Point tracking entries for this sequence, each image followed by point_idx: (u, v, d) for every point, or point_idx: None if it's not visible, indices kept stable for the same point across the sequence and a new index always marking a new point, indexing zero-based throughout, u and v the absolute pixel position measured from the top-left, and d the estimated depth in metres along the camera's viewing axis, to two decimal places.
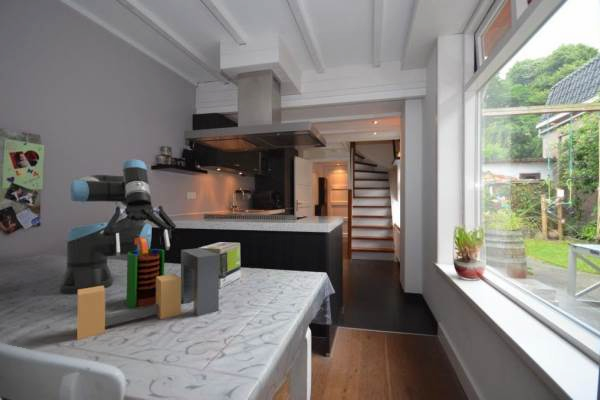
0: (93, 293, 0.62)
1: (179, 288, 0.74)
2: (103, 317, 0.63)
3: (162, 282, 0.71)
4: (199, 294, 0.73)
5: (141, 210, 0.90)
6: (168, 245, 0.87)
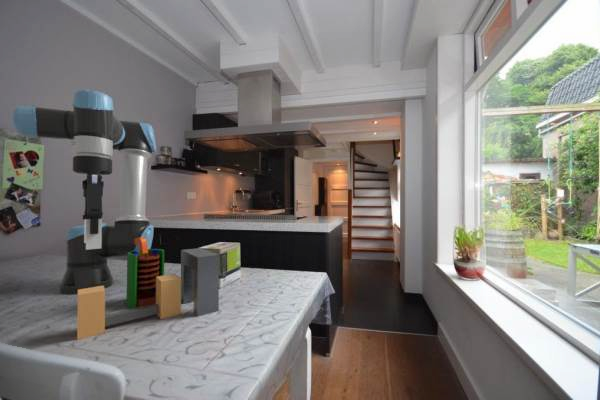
0: (93, 293, 0.62)
1: (179, 288, 0.74)
2: (103, 317, 0.63)
3: (162, 282, 0.71)
4: (199, 294, 0.73)
5: None
6: (85, 247, 0.58)
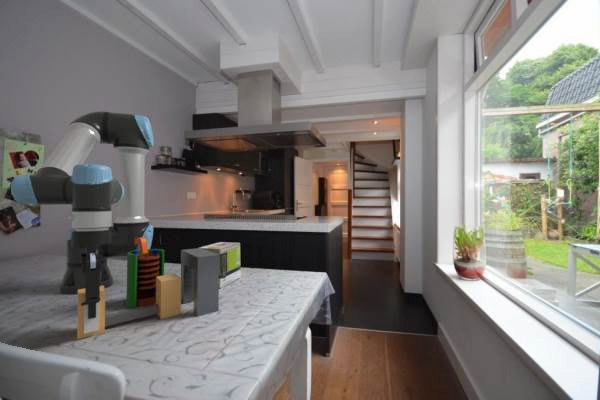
0: None
1: (179, 288, 0.74)
2: (103, 317, 0.63)
3: (162, 282, 0.71)
4: (199, 294, 0.73)
5: (85, 255, 0.63)
6: None
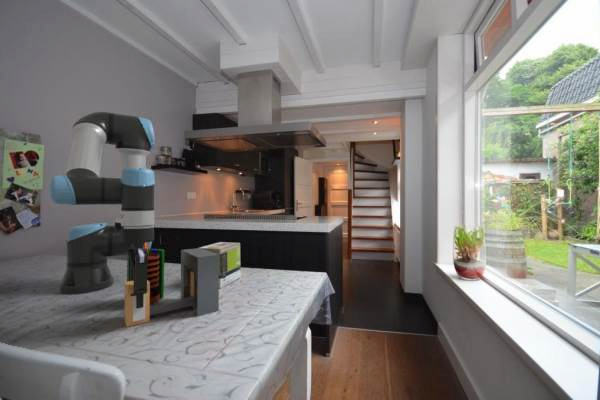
0: None
1: None
2: (148, 307, 0.69)
3: None
4: (199, 294, 0.73)
5: None
6: (132, 319, 0.67)
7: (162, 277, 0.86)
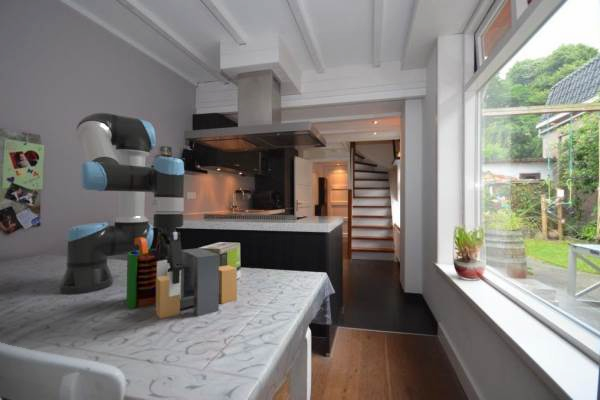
0: None
1: (235, 277, 0.84)
2: (179, 300, 0.74)
3: (222, 272, 0.82)
4: (199, 294, 0.73)
5: None
6: None
7: None
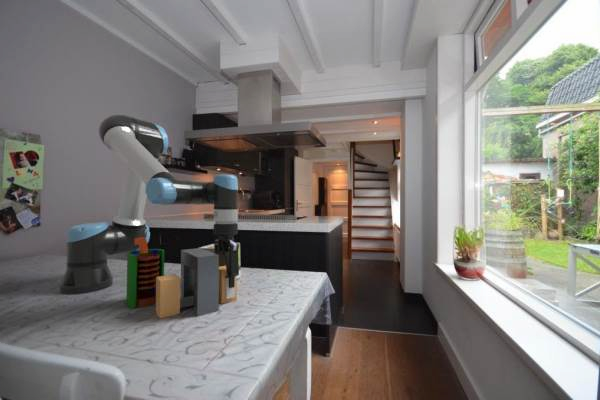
0: (171, 279, 0.73)
1: (235, 277, 0.84)
2: (179, 300, 0.74)
3: (222, 271, 0.82)
4: (199, 294, 0.73)
5: (222, 242, 0.85)
6: (226, 297, 0.82)
7: None
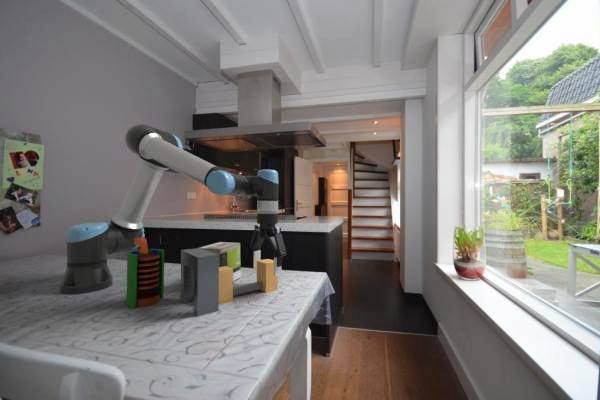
0: (226, 270, 0.83)
1: None
2: (232, 288, 0.84)
3: (266, 264, 0.92)
4: (199, 294, 0.73)
5: None
6: (274, 275, 0.90)
7: (162, 277, 0.86)
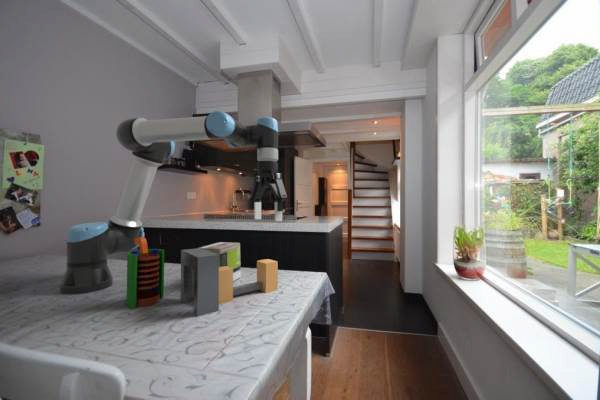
0: (226, 270, 0.83)
1: (276, 269, 0.95)
2: (232, 288, 0.84)
3: (266, 264, 0.92)
4: (199, 294, 0.73)
5: None
6: (275, 220, 0.90)
7: (162, 277, 0.86)
